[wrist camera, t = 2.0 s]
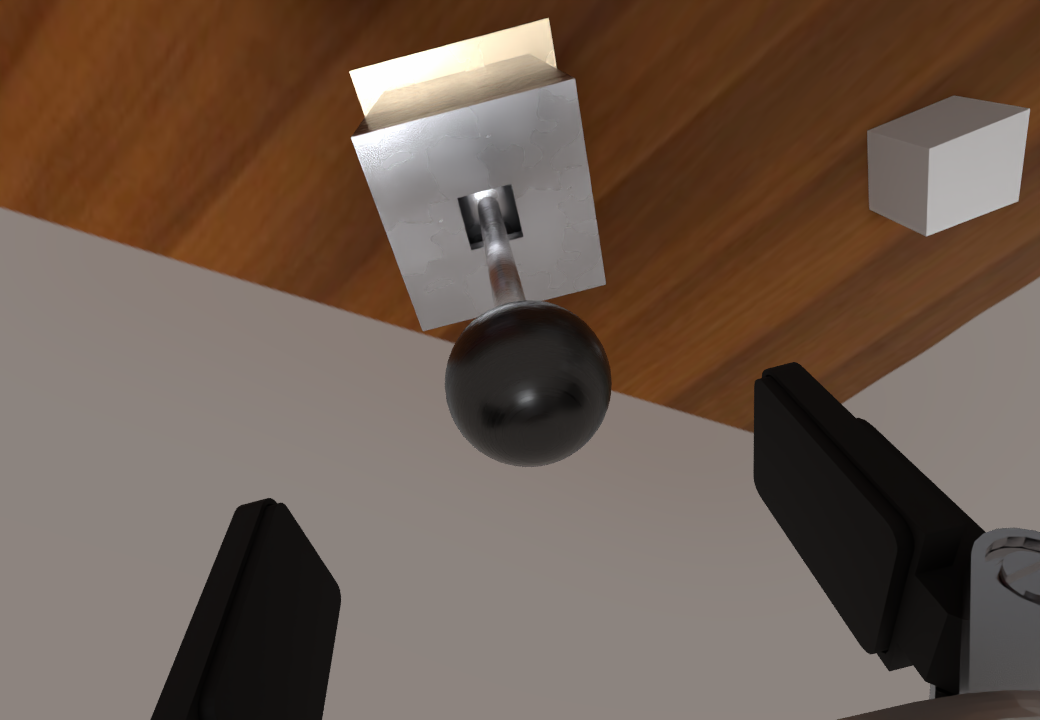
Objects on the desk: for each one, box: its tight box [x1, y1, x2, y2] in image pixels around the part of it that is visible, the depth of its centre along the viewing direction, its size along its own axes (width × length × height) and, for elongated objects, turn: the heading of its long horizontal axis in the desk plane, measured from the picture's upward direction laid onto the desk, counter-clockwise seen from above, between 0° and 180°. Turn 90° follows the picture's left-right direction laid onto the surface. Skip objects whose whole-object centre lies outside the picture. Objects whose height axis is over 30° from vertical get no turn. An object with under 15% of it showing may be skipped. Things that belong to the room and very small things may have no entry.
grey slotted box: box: [349, 18, 606, 331], centre depth 31 cm, size 12×13×14 cm
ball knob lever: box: [445, 184, 612, 467], centre depth 19 cm, size 6×6×17 cm
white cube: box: [867, 96, 1030, 236], centre depth 37 cm, size 6×6×6 cm
